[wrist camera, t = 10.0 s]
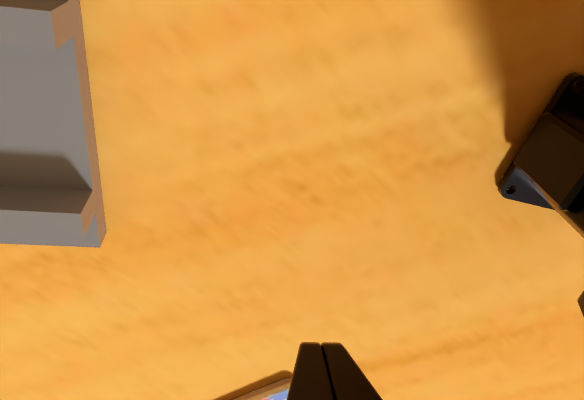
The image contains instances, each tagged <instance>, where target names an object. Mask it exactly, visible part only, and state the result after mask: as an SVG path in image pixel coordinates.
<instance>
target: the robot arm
mask: <svg viewBox="0 0 584 400" xmlns="http://www.w3.org/2000/svg"><path fill="white" fill-rule="evenodd" d="M577 81H578V84H577V86H576V87H575V88H573V89H572V87H573V84H574V83H575V82H577ZM510 186H512V187H511V188H510V189H509V190H507V188H508V187H510ZM498 191H499V193H500V194H501V195H502V196H503V197H505V198H507V199H511V200H515V201H520V202H524V203H528V204H532V205H536V206H541V207H545V208H549V209H553V210H556V211H557V212H558V213H559V214H560V215H561V216H562V217H563V218H564V219H565V220H566V221H567V222H568V223H569V224H570V225H571V226H572V227H573V228H574V229H575V230H576V231H577V232H578V233H579V234H580V235H581V236H582V237H583V238H584V74H582V73H579V72H574V73H571V74H570V75H568V76H567V77H566V78H565V79H564V80H563V82H562V83H561V85H560V87H559V88H558V90H557V91H556V93H555V95H554V96H553V98H552V100H551V101H550V103H549V104H548V106H547V108H546V109H545V111H544V112H543V114H542V116H541V117H540V119H539V120H538V122H537V124H536V125H535V127H534V128H533V130H532V132H531V133H530V135H529V136H528V138H527V140H526V141H525V143H524V144H523V146H522V148H521V149H520V151H519V152H518V154H517V156H516V157H515V159H514V161H513V162H512V164H511V165H510V167H509V169H508V170H507V172H506V173H505V175H504V177H503V178H502V180H501V181H500V183H499V185H498ZM578 303H579V306H580V309H581V311H582V314H583V316H584V291H583V293H582V294H581V295H580V297H579V298H578ZM287 400H382V398H381V397H380V396H379V394H378V393H377V391H376V390H375V389H374V387H373V386H372V385H371V383H370V382H369V381H368V379H367V378H366V376H365V375H364V374H363V372H362V371H361V370H360V368H359V367H358V365H357V364H356V363H355V361H354V360H353V359H352V357H351V356H350V354H349V353H348V352H347V350H346V349H345V348H344V346H343V345H342V344H340V343H326V342H324V343H322V344H321V345H320V344H319V343H317V342H302V343H301V344H300V347H299V351H298V355H297V359H296V363H295V367H294V371H293V375H292V379H291V383H290V387H289V391H288V395H287Z"/></svg>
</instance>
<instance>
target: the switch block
mask: <svg viewBox="0 0 584 400" xmlns="http://www.w3.org/2000/svg"><path fill="white" fill-rule="evenodd" d="M105 234H106V225H105V216H104V208H103V199H102V190H101V182H100V173H99V164H98V156H97V147H96V138H95V130H94V121H93V112H92V104H91V95H90V86H89V78H88V69H87V61H86V52H85V43H84V35H83V26H82V17H81V9H80V0H0V243H3V244H27V245H51V246H76V247H100V246H101V244H102V242H103V239H104V237H105Z"/></svg>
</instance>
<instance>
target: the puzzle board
mask: <svg viewBox="0 0 584 400" xmlns="http://www.w3.org/2000/svg"><path fill="white" fill-rule="evenodd" d="M291 379H292V378H284V379H282V380H279V381H277V382H274V383H272V384H269V385H267V386H264V387H262V388H259V389H257V390H254V391H252V392H249V393H247V394H244V395H242V396H239V397H237V398H235V399H232V400H287V395H288V391H289V387H290V383H291Z"/></svg>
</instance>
